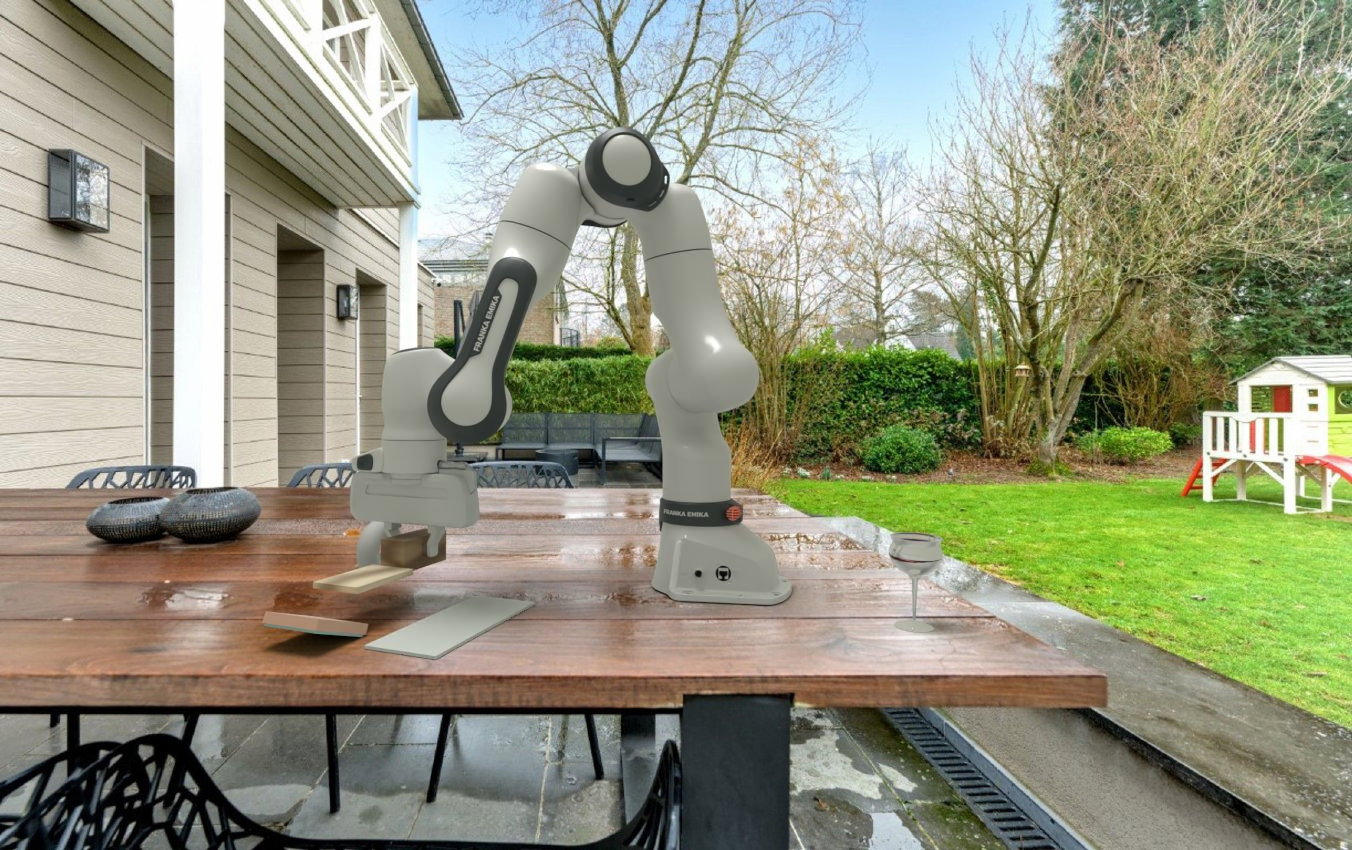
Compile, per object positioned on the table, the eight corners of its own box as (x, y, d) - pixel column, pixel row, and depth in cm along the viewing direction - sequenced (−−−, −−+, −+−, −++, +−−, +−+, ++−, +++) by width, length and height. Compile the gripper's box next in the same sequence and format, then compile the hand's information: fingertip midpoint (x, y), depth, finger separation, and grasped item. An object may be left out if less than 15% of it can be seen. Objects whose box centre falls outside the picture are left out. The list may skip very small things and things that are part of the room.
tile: (368, 623, 82) (319, 618, 75) (365, 637, 81) (314, 633, 74) (318, 616, 84) (265, 611, 77) (314, 629, 84) (261, 625, 77)
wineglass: (943, 637, 84) (945, 543, 83) (887, 631, 86) (889, 539, 85) (938, 621, 90) (940, 533, 90) (886, 615, 92) (888, 530, 92)
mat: (534, 604, 95) (534, 602, 95) (435, 659, 74) (435, 656, 74) (475, 597, 98) (475, 595, 98) (364, 648, 77) (364, 645, 77)
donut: (370, 587, 103) (370, 524, 103) (351, 586, 104) (351, 523, 104) (407, 571, 113) (407, 514, 113) (389, 570, 114) (389, 513, 113)
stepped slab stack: (454, 560, 99) (454, 530, 99) (357, 593, 81) (357, 557, 81) (415, 556, 101) (416, 527, 101) (312, 588, 83) (312, 553, 83)
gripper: (489, 460, 95) (488, 555, 95) (374, 455, 101) (374, 544, 102) (462, 463, 89) (461, 565, 89) (342, 458, 95) (342, 553, 96)
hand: (414, 554), depth 96 cm, fingers closed on stepped slab stack, 4 cm apart
